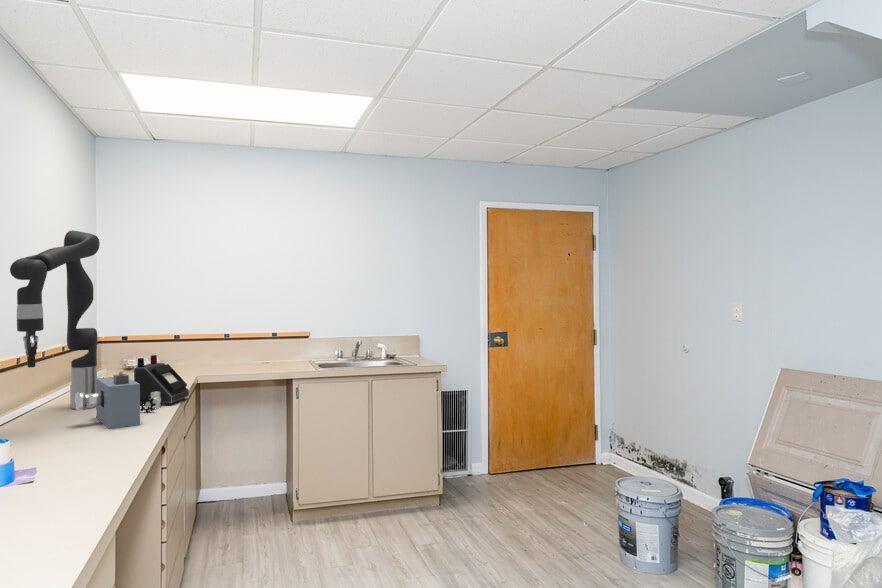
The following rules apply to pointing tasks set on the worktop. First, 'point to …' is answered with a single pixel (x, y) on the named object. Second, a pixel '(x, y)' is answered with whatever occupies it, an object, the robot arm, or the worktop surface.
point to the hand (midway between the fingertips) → (31, 367)
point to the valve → (151, 402)
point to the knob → (88, 400)
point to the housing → (118, 403)
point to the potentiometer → (121, 378)
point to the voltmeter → (159, 381)
